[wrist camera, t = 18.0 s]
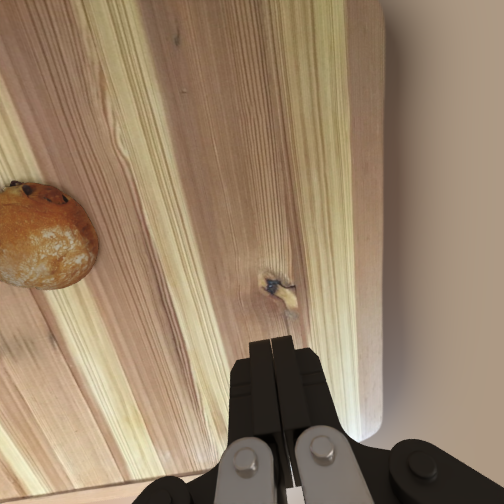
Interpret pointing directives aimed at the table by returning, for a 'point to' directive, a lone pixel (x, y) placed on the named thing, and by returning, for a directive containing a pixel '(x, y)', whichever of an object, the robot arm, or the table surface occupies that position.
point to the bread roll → (44, 237)
